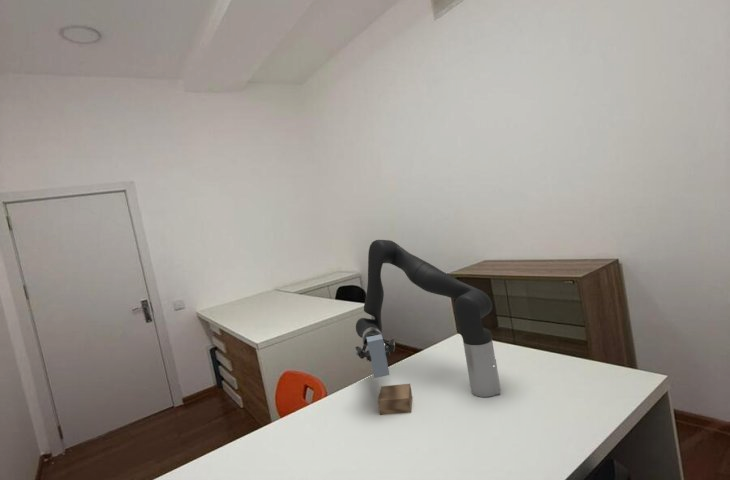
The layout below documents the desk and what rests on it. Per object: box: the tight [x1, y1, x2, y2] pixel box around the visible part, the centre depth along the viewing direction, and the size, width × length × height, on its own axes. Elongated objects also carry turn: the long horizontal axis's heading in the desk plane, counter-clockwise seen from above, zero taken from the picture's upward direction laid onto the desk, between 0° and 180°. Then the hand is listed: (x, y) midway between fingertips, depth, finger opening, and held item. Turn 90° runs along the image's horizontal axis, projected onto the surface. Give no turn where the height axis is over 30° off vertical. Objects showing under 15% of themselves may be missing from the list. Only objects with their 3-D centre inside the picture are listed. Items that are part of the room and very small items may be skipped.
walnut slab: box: [377, 383, 413, 416], centre depth 129 cm, size 10×10×5 cm
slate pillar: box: [366, 334, 390, 379], centre depth 127 cm, size 5×5×12 cm
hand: (378, 356), depth 124 cm, fingers closed on slate pillar, 5 cm apart
